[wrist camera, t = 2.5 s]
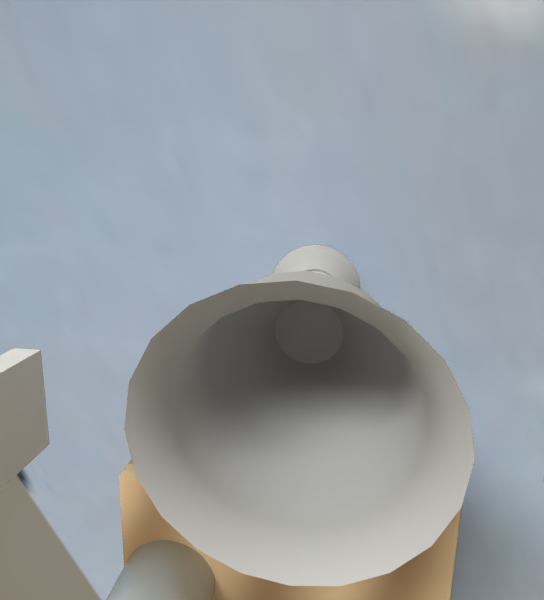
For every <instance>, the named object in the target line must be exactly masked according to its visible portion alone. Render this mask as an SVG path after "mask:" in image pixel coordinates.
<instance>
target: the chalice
mask: <svg viewBox="0 0 544 600" xmlns="http://www.w3.org/2000/svg"><path fill="white" fill-rule="evenodd" d="M124 430H125V434H126V438H127V442H128V446H129V450H130V454H131V458H132V462H133V466H134V470H135V474H136V476H137V478H138V480H139V481H140V483H141V484H142V486H143V488H144V489H145V491H146V492H147V494H148V496H149V497H150V499H151V501H152V502H153V504H154V505H155V507H156V509H157V510H158V512H159V513H160V515H161V517H163V518H164V519H165V520H166V521H167V522H168V523H169V524H170V525H171V526H172V527H173V528H175V529H176V530H177V531H178V532H179V533H180V534H181V535H182V536H183V537H184V538H185V539H187V540H188V541H189V542H190V543H191V544H192V545H193V546H194V547H195V548H196V549H197V550H199V551H201V552H203V553H205V554H207V555H208V556H210V557H212V558H214V559H216V560H218V561H220V562H222V563H223V564H225V565H227V566H229V567H231V568H233V569H235V570H236V571H238V572H240V573H242V574H246V575H250V576H254V577H258V578H262V579H266V580H270V581H273V582H277V583H281V584H285V585H289V586H344V585H347V584H351V583H355V582H358V581H362V580H366V579H369V578H373V577H377V576H380V575H384V574H388V573H391V572H392V571H394V570H395V569H397V568H398V567H400V566H401V565H403V564H405V563H406V562H408V561H409V560H411V559H412V558H414V557H416V556H417V555H419V554H420V553H422V552H423V551H425V550H426V549H428V548H430V547H431V546H432V545H433V544H434V542H435V541H436V540H437V539H438V537H439V536H440V535H441V533H442V532H443V531H444V529H445V528H446V527H447V526H448V524H449V523H450V522H451V520H452V519H453V518H454V516H455V515H456V514H457V512H458V511H459V510H460V509H461V507H462V504H463V500H464V497H465V493H466V490H467V486H468V482H469V479H470V475H471V472H472V468H473V465H474V461H475V455H474V446H473V437H472V428H471V419H470V410H469V407H468V405H467V403H466V401H465V399H464V397H463V395H462V393H461V391H460V389H459V387H458V385H457V383H456V381H455V379H454V377H453V375H452V373H451V371H450V369H449V367H448V365H447V363H446V361H445V360H444V359H443V358H442V357H441V356H440V355H439V354H438V353H437V352H436V351H435V350H434V349H433V348H432V347H431V346H430V345H429V344H428V343H427V342H426V341H425V340H424V339H423V338H422V337H421V336H420V335H419V334H418V333H417V332H416V331H415V330H414V329H413V328H412V327H411V326H410V325H409V324H408V323H407V322H406V321H405V320H404V319H402V318H400V317H398V316H396V315H394V314H393V313H391V312H389V311H387V310H385V309H383V308H382V307H381V306H380V305H379V304H378V303H377V302H376V301H375V300H374V299H373V298H372V297H371V296H370V295H369V294H368V293H366V292H365V291H363V290H361V289H360V284H359V277H358V275H357V272H356V270H355V268H354V266H353V264H352V263H351V262H350V261H349V260H348V259H347V258H346V257H345V256H344V255H343V254H342V253H340V252H338V251H336V250H334V249H333V248H331V247H326V246H321V245H310V246H302V247H300V248H298V249H296V250H294V251H292V252H290V253H289V254H287V255H286V256H285V257H284V258H283V259H282V260H281V261H280V262H279V264H278V266H277V267H276V269H275V271H274V273H273V274H271V275H269V276H266V277H264V278H261V279H259V280H256V281H254V282H252V283H249V284H242V285H238V286H235V287H233V288H230V289H228V290H225V291H223V292H220V293H218V294H215V295H213V296H210V297H208V298H206V299H203V300H201V301H198V302H196V303H193V304H191V305H189V306H188V307H187V308H186V309H184V310H183V311H182V312H181V313H180V314H179V315H178V316H177V317H175V318H174V319H173V320H172V321H171V322H170V323H169V324H168V325H166V326H165V327H164V328H163V329H162V330H161V331H160V332H159V333H157V334H156V335H155V336H154V337H153V338H152V339H151V341H150V343H149V345H148V346H147V348H146V350H145V352H144V354H143V356H142V358H141V360H140V362H139V364H138V366H137V368H136V370H135V372H134V374H133V375H132V377H131V379H130V381H129V389H128V398H127V408H126V417H125V427H124Z"/></svg>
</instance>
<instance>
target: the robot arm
mask: <svg viewBox="0 0 544 600" xmlns="http://www.w3.org/2000/svg"><path fill="white" fill-rule="evenodd" d="M49 444H50V442H49V432H48V421H47V411H46V400H45V389H44V379H43V368H42V358H41V350H32V349H12V350H10V351H8V352H6V353H4V354H2V355H0V490H1V489H2V488H3V487H4V486H5V485H6V484H7V483H8V482H9V481H10V480H11V479H12V478H13V477H14V476H16V475H17V474H18V473H19V472H20V471H21V470H22V469H23V468H24V467H25V466H26V465H27V464H28V463H30V462H31V461H32V460H33V459H34V458H35V457H36V456H37V455H38V454H39V453H40V452H41V451H42V450H44V449H45V448H46V447H47V446H48V445H49ZM543 482H544V476H543Z"/></svg>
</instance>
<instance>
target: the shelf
mask: <svg viewBox="0 0 544 600" xmlns="http://www.w3.org/2000/svg"><path fill="white" fill-rule="evenodd" d="M119 486H120V503H121V520H122V537H123V554H124V566H125V564H126V562H127V560H128V558H129V557H130V555H131V554H132V553H133V552H134V551H135V550H136V549H137V548H138V547H140V546H141V545H143V544H145V543H148V542H151V541H156V540H170V541H175V542H179V543H182V544H184V545H187V546H189V547H190V548H192V549H194V550H195V551H197V552H198V553H199V554H200V555H201V556H202V557H203V558H204V559H205V560H206V561H207V563H208V564H209V566H210V568H211V570H212V572H213V575H214V579H215V592H214V596H213V600H450V595H451V587H452V579H453V571H454V563H455V554H456V546H457V538H458V530H459V522H460V514H461V509H460V510H459V511H458V512H457V514H456V515H455V516H454V518H453V519H452V520H451V522H450V523H449V524H448V526H447V527H446V528H445V529H444V531H443V532H442V533H441V535H440V536H439V537H438V539H437V540H436V541H435V542H434V544H433V545H432V546H431V547H430V548H428V549H426V550H425V551H423V552H422V553H420V554H419V555H417V556H416V557H414V558H412V559H411V560H409V561H408V562H406V563H405V564H403V565H401V566H400V567H398V568H397V569H395V570H394V571H392V572H391V573H388V574H384V575H380V576H377V577H373V578H369V579H366V580H362V581H358V582H355V583H351V584H347V585H344V586H289V585H285V584H281V583H277V582H273V581H270V580H266V579H262V578H258V577H254V576H250V575H246V574H242V573H240V572H238V571H236V570H235V569H233V568H231V567H229V566H227V565H225V564H223V563H222V562H220V561H218V560H216V559H214V558H212V557H210V556H208V555H207V554H205V553H203V552H201V551H199V550H197V549H196V548H195V547H194V546H193V545H192V544H191V543H190V542H189V541H188V540H187V539H185V538H184V537H183V536H182V535H181V534H180V533H179V532H178V531H177V530H176V529H175V528H173V527H172V526H171V525H170V524H169V523H168V522H167V521H166V520H165V519H164V518H163V517H161V515H160V513H159V512H158V510H157V509H156V507H155V505H154V504H153V502H152V501H151V499H150V497H149V496H148V494H147V492H146V491H145V489H144V488H143V486H142V484H141V483H140V481H139V480H138V478H137V476H136V474H135V470H134V466H133V462H132V460H131V461H130V462H129V464H128V465H127V466H126V468H125V469H124V471H123V472H122V473H121V475H120V476H119Z"/></svg>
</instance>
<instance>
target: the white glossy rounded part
mask: <svg viewBox="0 0 544 600" xmlns="http://www.w3.org/2000/svg"><path fill="white" fill-rule="evenodd" d="M214 592H215V579H214V575H213V572H212V570H211V568H210V566H209V564H208V563H207V561H206V560H205V559H204V558H203V557H202V556H201V555H200V554H199V553H198V552H197V551H195V550H194V549H192V548H190V547H189V546H187V545H184V544H182V543H179V542H175V541H170V540H156V541H151V542H148V543H145V544H143V545H141V546H140V547H138V548H137V549H136V550H135V551H134V552H133V553H132V554H131V555H130V557H129V558H128V560H127V562H126V564H125V566H124V568H123V570H122V571H121V573H120V575H119V577H118V579H117V581H116V583H115V584H114V586H113V588H112V590H111V592H110V594H109V595H108V597H107V599H106V600H213V596H214Z"/></svg>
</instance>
